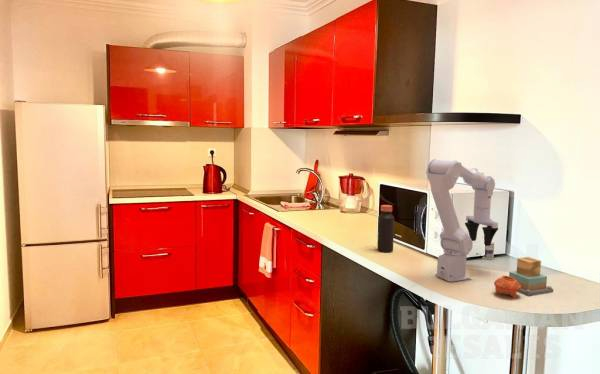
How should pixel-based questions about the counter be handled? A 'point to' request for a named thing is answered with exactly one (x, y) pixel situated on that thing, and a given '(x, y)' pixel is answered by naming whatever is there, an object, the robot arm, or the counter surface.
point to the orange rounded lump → (507, 285)
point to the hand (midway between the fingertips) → (480, 243)
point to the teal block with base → (531, 284)
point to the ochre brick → (528, 266)
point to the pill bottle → (489, 251)
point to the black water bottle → (385, 229)
